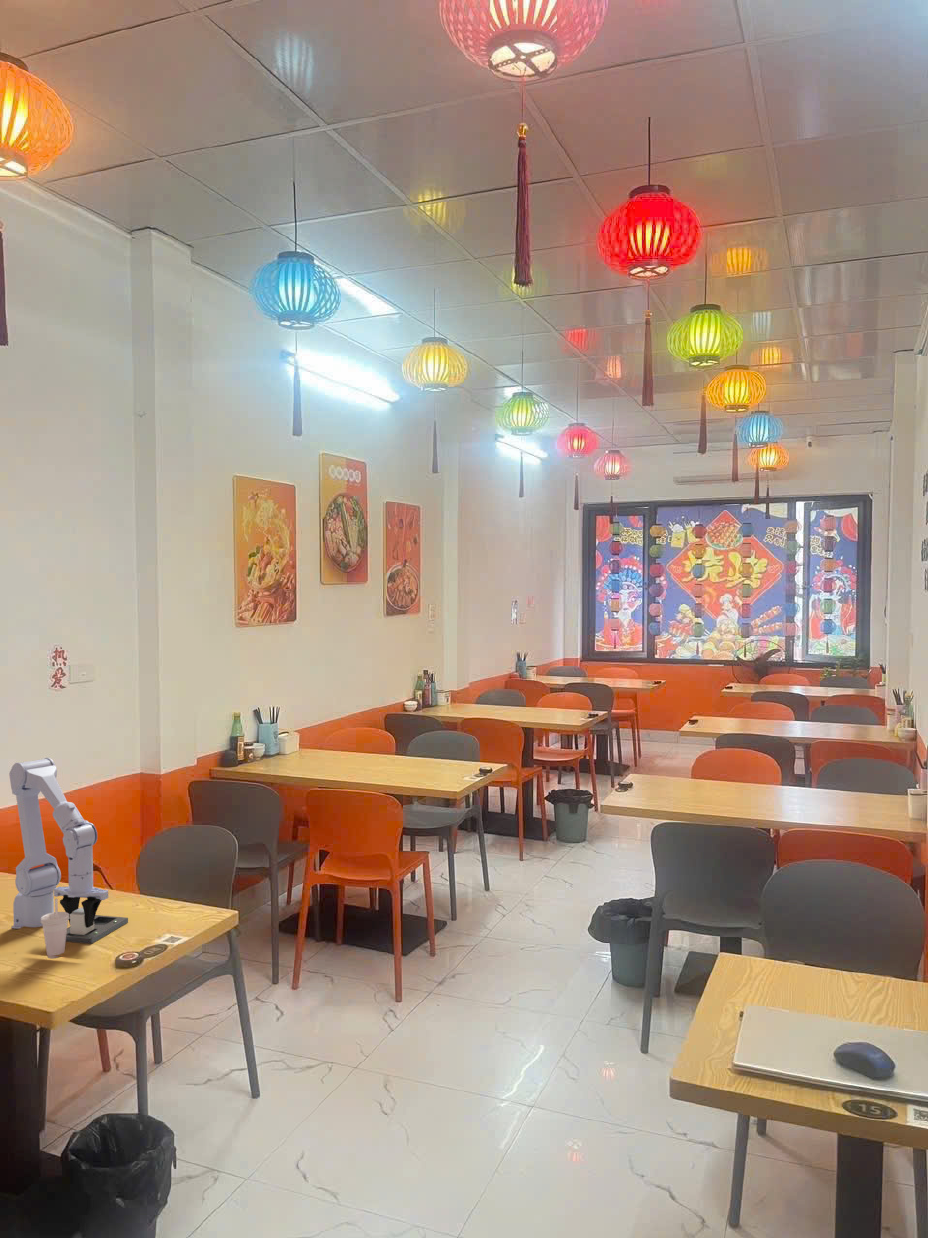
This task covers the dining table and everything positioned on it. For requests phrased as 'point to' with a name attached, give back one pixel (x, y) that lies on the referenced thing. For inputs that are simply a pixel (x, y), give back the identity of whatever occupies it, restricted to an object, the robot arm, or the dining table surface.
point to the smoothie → (55, 931)
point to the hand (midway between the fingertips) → (81, 925)
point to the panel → (98, 929)
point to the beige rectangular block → (79, 923)
